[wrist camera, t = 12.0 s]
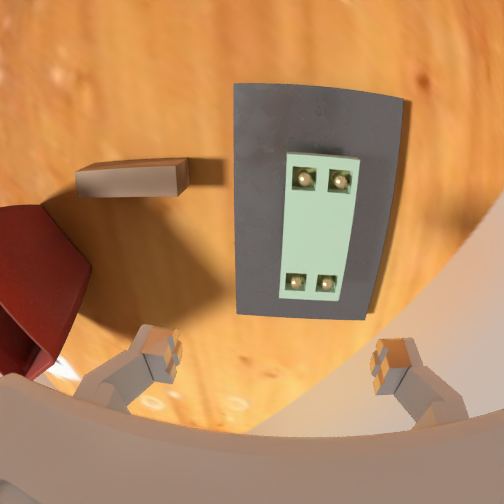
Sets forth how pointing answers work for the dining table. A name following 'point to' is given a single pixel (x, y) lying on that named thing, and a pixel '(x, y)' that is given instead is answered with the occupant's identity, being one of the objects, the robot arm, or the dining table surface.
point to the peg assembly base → (274, 182)
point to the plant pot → (36, 289)
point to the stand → (134, 178)
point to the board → (317, 226)
